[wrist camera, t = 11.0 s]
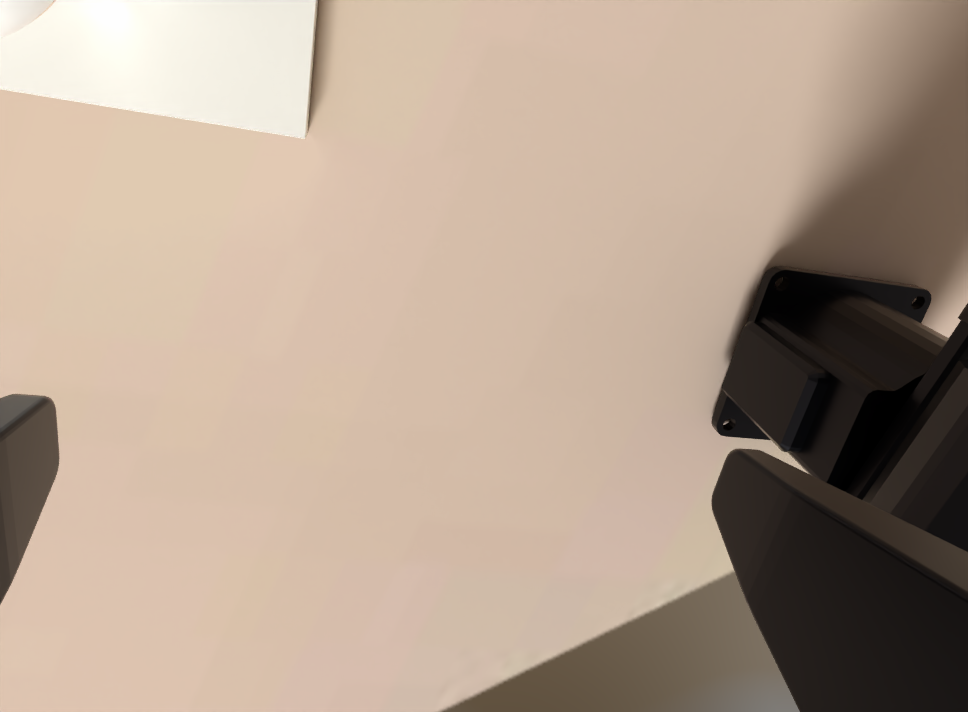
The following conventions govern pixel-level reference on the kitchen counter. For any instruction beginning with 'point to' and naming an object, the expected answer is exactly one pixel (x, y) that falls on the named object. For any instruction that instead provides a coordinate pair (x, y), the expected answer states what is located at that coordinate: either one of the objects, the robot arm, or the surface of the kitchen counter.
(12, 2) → the milkshake
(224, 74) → the pad
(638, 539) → the kitchen counter surface
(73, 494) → the kitchen counter surface
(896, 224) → the kitchen counter surface
